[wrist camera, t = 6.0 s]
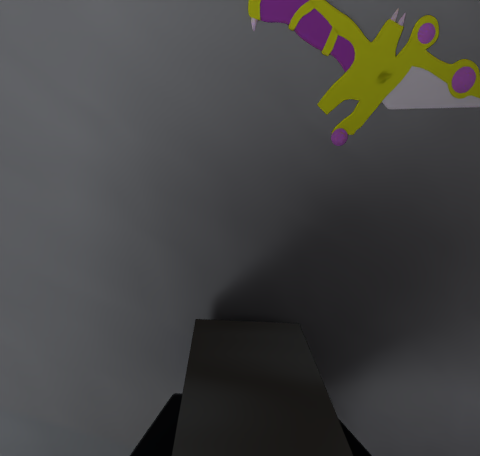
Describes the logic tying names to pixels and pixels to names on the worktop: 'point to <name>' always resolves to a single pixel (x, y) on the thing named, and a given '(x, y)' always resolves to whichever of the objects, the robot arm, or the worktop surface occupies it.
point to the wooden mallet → (255, 394)
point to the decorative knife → (375, 62)
